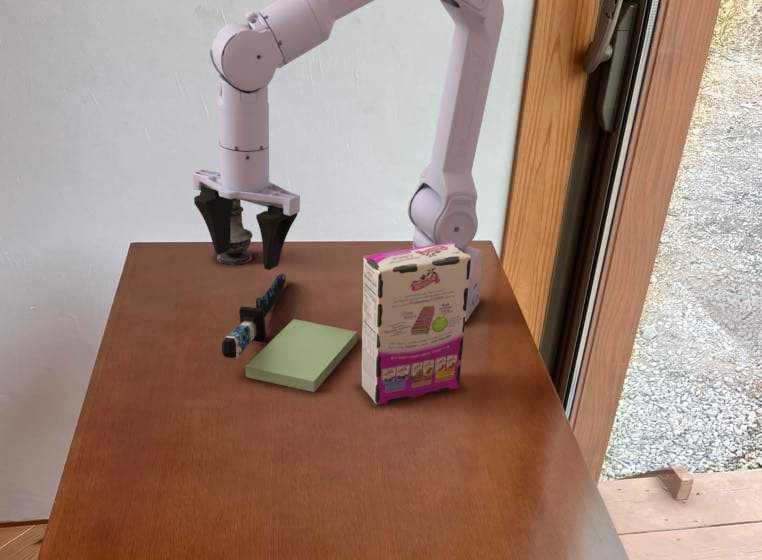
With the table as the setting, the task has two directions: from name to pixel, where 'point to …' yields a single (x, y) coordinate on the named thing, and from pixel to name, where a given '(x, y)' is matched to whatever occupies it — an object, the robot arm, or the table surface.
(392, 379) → the candy bar box
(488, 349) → the table surface
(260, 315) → the knife
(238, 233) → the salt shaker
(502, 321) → the table surface
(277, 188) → the robot arm
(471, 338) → the table surface
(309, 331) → the cutting board
